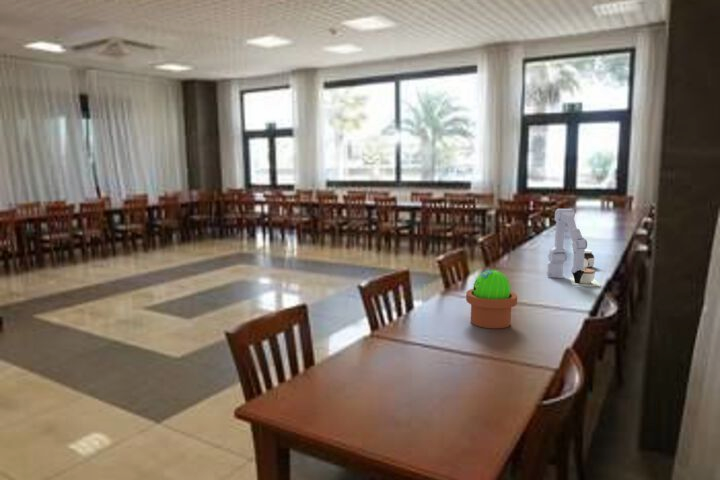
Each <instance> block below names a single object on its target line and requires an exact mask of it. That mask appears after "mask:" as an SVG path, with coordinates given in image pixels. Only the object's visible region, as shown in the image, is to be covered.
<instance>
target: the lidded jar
mask: <svg viewBox="0 0 720 480" xmlns="http://www.w3.org/2000/svg"><path fill="white" fill-rule="evenodd" d="M585 268H586V267H585ZM581 271H584V273H583V275H582V277H581V280H580V283H582V284H590V282H592V281H593V279H595V275H596V270H595V269H591V268H586V269H585V270H581Z"/></svg>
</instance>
